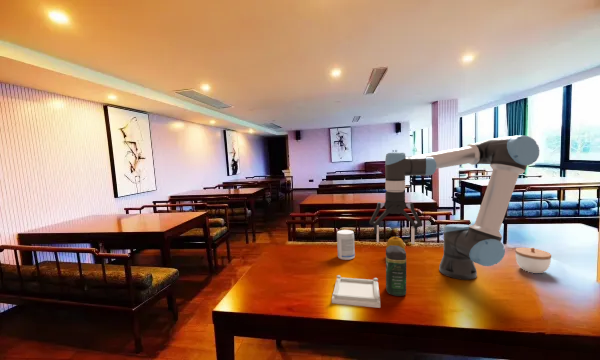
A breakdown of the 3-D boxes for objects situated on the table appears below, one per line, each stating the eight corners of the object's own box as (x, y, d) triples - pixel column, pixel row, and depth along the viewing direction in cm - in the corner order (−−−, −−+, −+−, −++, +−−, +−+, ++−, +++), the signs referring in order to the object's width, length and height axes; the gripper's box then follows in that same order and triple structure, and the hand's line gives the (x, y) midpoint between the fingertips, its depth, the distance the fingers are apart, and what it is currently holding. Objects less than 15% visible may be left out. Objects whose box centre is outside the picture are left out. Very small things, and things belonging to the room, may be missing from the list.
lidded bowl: (548, 279, 114) (549, 254, 113) (512, 270, 124) (512, 248, 123) (552, 270, 122) (553, 247, 122) (517, 263, 132) (518, 242, 131)
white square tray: (378, 285, 114) (377, 277, 114) (380, 307, 97) (380, 299, 97) (336, 281, 119) (336, 274, 118) (332, 303, 101) (331, 294, 101)
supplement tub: (358, 256, 148) (357, 231, 147) (348, 261, 141) (347, 235, 140) (344, 253, 155) (343, 228, 154) (334, 257, 148) (333, 232, 147)
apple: (384, 254, 151) (384, 234, 150) (402, 254, 150) (402, 234, 149) (388, 260, 141) (388, 239, 140) (407, 260, 140) (406, 239, 139)
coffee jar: (408, 298, 103) (407, 252, 102) (387, 296, 105) (386, 251, 104) (404, 286, 112) (404, 244, 111) (385, 284, 114) (384, 243, 113)
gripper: (426, 189, 106) (425, 240, 108) (363, 189, 112) (363, 238, 114) (431, 192, 99) (430, 246, 100) (363, 191, 105) (363, 243, 106)
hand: (395, 242), depth 107 cm, fingers open, 13 cm apart
